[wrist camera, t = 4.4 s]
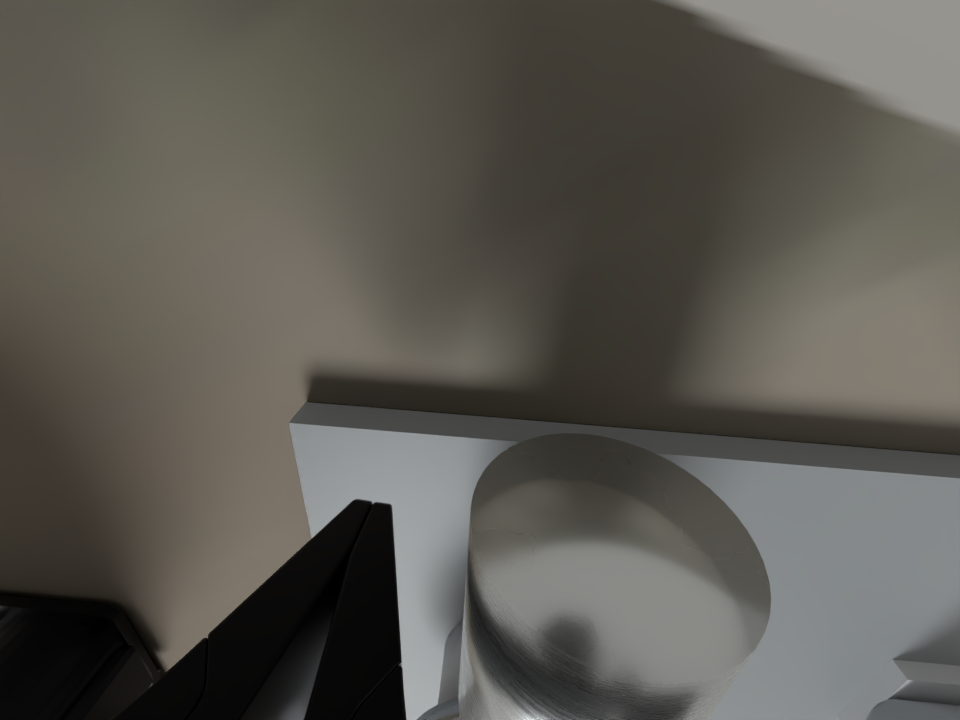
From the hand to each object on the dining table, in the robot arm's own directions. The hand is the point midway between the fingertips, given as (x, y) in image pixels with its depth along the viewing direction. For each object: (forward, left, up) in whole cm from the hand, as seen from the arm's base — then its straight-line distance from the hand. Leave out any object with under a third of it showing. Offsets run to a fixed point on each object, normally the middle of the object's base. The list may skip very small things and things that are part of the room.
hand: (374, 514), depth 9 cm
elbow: (+5, -6, -2) cm, 8 cm away
